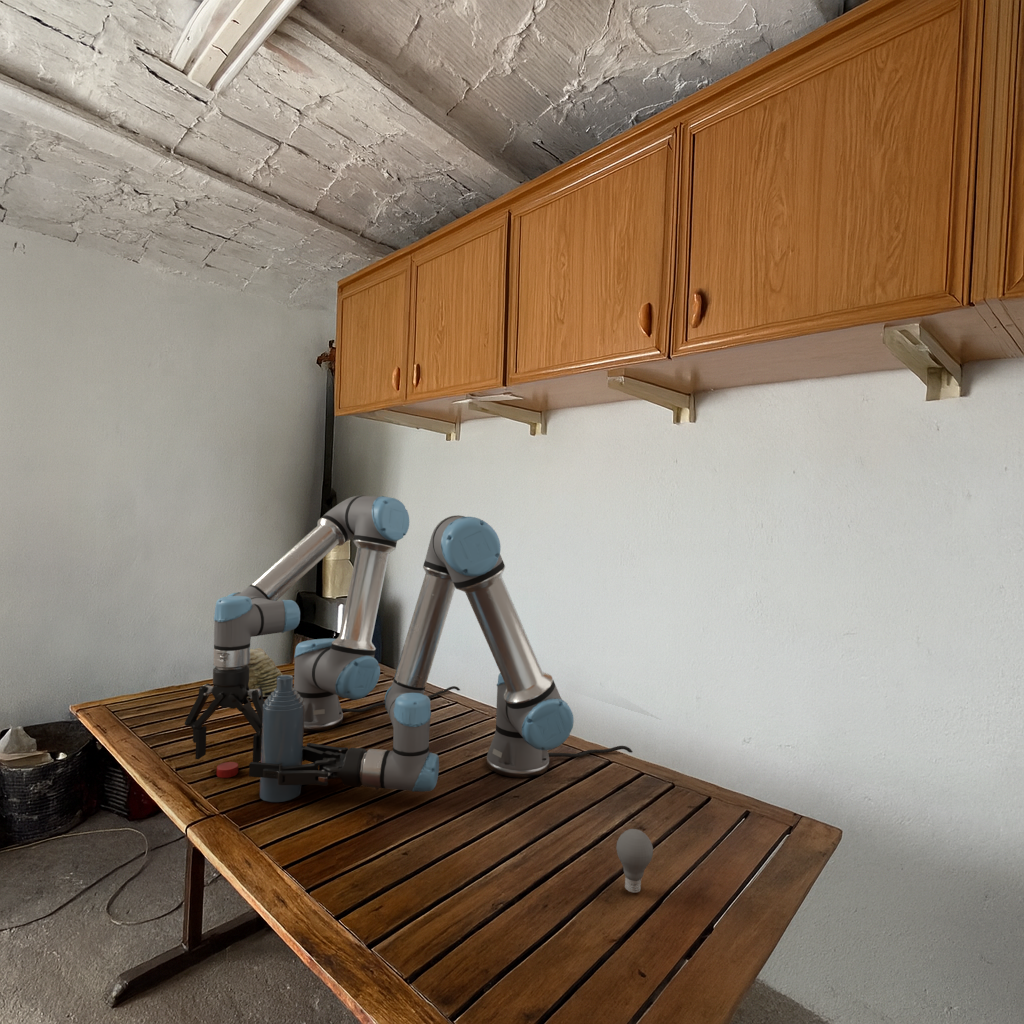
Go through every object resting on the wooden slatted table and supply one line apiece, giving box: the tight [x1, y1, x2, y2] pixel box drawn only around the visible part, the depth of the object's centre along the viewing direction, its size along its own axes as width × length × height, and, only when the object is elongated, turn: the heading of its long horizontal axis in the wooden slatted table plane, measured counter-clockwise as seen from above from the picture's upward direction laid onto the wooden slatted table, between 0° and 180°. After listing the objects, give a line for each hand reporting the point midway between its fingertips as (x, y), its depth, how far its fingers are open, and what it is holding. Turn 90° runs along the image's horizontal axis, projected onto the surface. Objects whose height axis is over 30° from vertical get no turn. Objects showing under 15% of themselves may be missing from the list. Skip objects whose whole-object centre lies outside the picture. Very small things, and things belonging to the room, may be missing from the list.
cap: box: [216, 761, 239, 779], centre depth 143 cm, size 4×4×2 cm
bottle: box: [259, 674, 305, 803], centre depth 134 cm, size 8×8×25 cm
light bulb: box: [615, 828, 654, 894], centre depth 106 cm, size 6×6×10 cm
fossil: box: [247, 647, 283, 699], centre depth 198 cm, size 9×18×15 cm, turn 132°
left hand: (228, 759), depth 143 cm, fingers open, 13 cm apart
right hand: (260, 760), depth 135 cm, fingers closed on bottle, 8 cm apart
